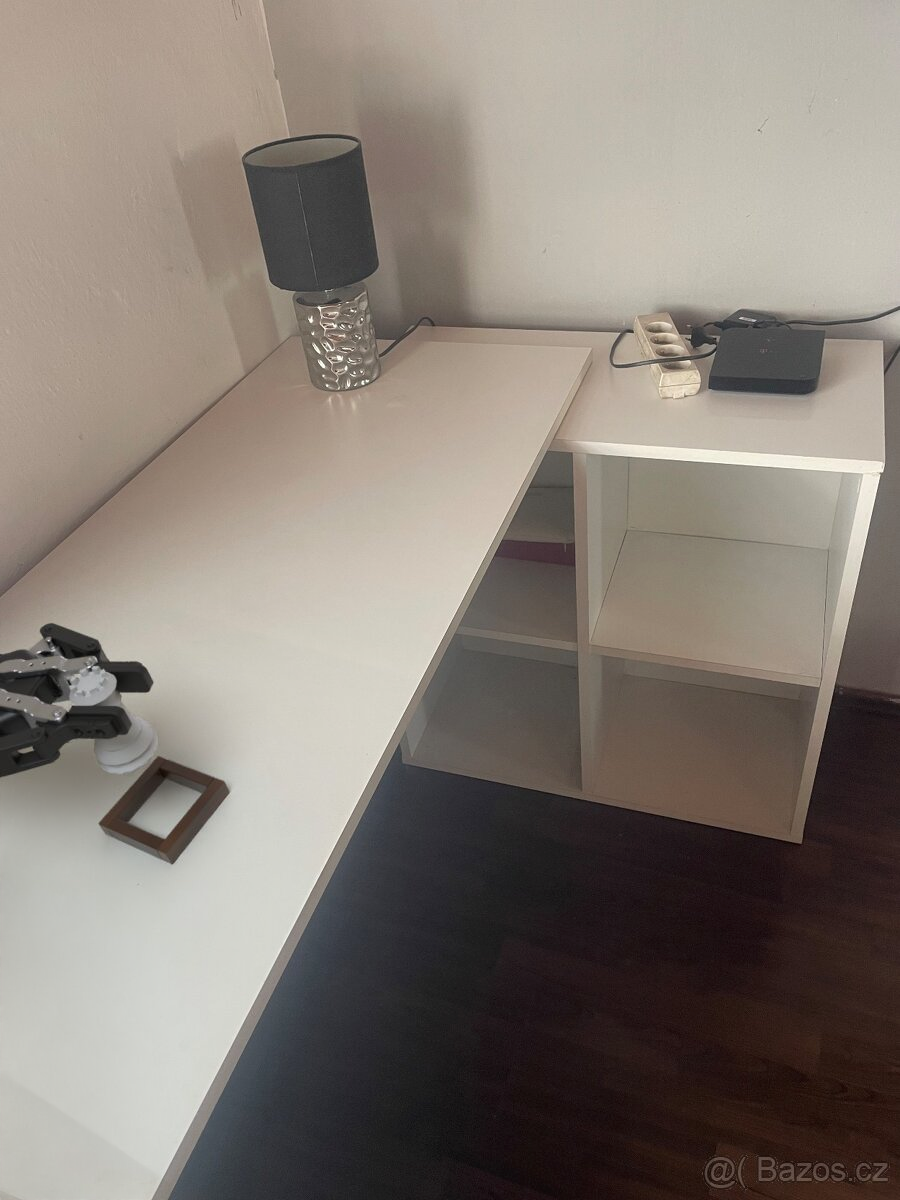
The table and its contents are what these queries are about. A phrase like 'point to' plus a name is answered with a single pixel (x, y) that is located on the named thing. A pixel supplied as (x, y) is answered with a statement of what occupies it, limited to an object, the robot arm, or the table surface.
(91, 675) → the rook chess piece
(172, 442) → the table surface
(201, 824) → the holder collar
